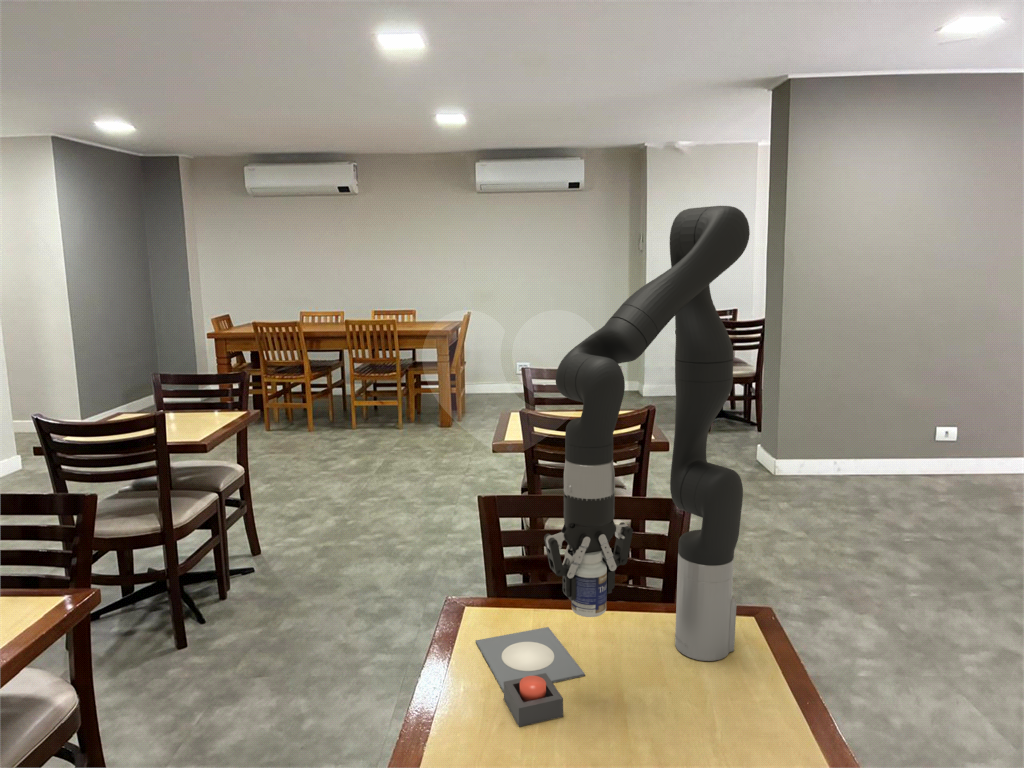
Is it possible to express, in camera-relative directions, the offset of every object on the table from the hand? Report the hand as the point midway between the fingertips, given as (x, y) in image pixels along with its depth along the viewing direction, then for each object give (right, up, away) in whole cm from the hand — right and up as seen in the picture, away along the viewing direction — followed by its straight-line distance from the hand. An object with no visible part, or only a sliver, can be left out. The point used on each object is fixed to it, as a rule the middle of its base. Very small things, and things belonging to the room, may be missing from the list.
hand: (588, 594), depth 107 cm
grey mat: (-9, -15, +13) cm, 22 cm away
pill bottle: (0, -3, 0) cm, 3 cm away
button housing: (-9, -17, 0) cm, 19 cm away
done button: (-9, -15, 0) cm, 17 cm away
